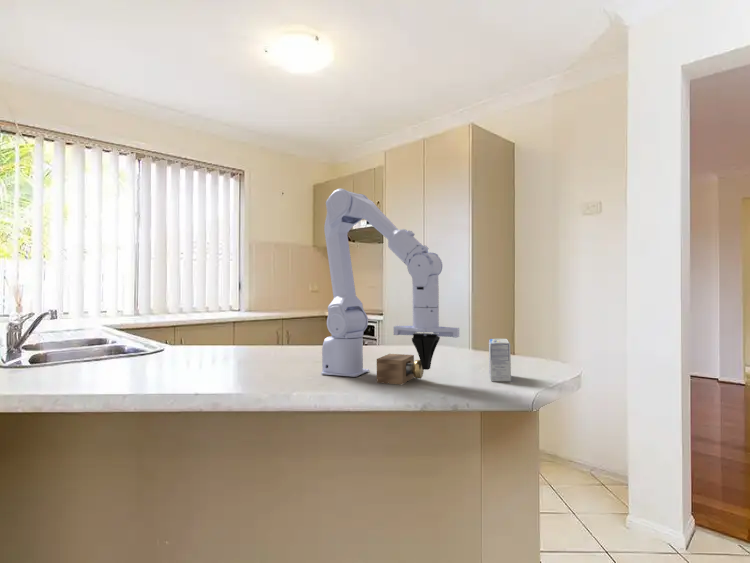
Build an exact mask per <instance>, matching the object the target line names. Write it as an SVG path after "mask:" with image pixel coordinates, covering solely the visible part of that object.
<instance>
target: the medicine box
mask: <svg viewBox="0 0 750 563" xmlns="http://www.w3.org/2000/svg"><path fill="white" fill-rule="evenodd" d="M488 352H489V353H488V356H489V357H488V360H489V378H490V381H491V382H498V383H501V382H502V383H511V382H512V367H511V366H512V365H511V364H512V363H511V359H512V358H511V343H510V341H509V340H508V339H507V338H490V339H489V340H488Z"/></svg>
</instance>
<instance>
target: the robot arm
mask: <svg viewBox="0 0 750 563" xmlns="http://www.w3.org/2000/svg"><path fill="white" fill-rule="evenodd" d="M325 206H326V207H325V208H326V216H325V222H324V227H323V228H324V229H323V230H324V235H325V236H324V237H325V245H326V252H327V259H328V265H329V266H328V268H329V274H330V280H331V287H332V288H331V289H332V295H333V299H332V300H331V302H330V303H329V304H328V306H327V312H328V313H327V318H326V327H327V330H328V332H329V333H330V336H327V337H326V338H324V340H323V343H322V347H321V348H322V349H321V351H322V352H321V353H322V356H321V358H322V359H321V360H322V366H321V367H322V371H321V372H320V374H321V375H330V376H341V377H354V378H356V377H359V376H361V375H363V374H366V373H369V372H370V369H369V368H364V361H363V360H364V357H363V356H364V353H363V352H364V351H363V350H364V348H363V347H364V345H363V340H364V339H363V336H364V332H365V331H366V329H367V328H368V324H369V318H368V315H367V313H366V311H365V310H364V304H363V302H362V301H361V299H360V298H358V296H357V294H356V288H355V287H356V286H355V279H354V274H353V273H354V272H353V271H354V270H353V265H352V259H351V258H352V257H351V251H350V244H349V237H348V233H349V232H350V230H351V229H352V228H353V227H354V226H356V225H357V224H358V223H360V222H361V221H362V220H365V221H366V222H367V223H368V224H370V225H371V226H372V227H373V228H374V229H375V230H377V232H379V233H380V234H381V235H382V236H384V237H385V238H386V239H387V242H388V243H387V246H388V249H389V250H390V251H391V252H392V253H393V254H395V256H396V257H397V258H399V260H400V261H402V262H403V263H404V265H405V266H407V267H406V269H407V271H408V274H409V276H410V277H411V280H412V281H411V282H412V325H394V326H393V336H399V335H400V336H412V338H411V343H412V344H413V346H414V347H415V350H416V352H417V355H418V358H419V360H420V361H421V366H422V369H424V371H428V370H430V369H431V364H432V360H433V356H434V353H435V350H436V347H437V345H438V343H440V342H439V341H440V339H441V337H443V338H444V337H445V338H448V337H449V338H459V337H460V327H451V326H440V312H439V308H440V304H439V303H440V302H439V299H440V297H439V296H440V295H439V293H440V292H439V276H440V274H441V272H442V271H443V262H442V259H441V258H440V257H439V254H437V253H436V252H429V246H427V245H423V244H422V243H421V242H420V241H419V240H417V238H415V232H413V230H407V229H405V228H402V229H399V228H397V226H396V225H395V224H394V223H393V222H392V221H391V220H390V219H389V218H388V217H387V216H386V215H385V214H384V212H382V210H380V208H379V207H378V206H377V205H376V204H375V202H374V201H372V200H371V199H369V197H367V195H365V194H362V193H356V192H353V191H349V190H347V189H345V188H337V189H335V190H333V192H332V193H331V194H330V195H329V196H328V198H327V199H326V201H325Z"/></svg>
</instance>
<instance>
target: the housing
mask: <svg viewBox="0 0 750 563" xmlns="http://www.w3.org/2000/svg"><path fill="white" fill-rule="evenodd" d="M414 362H415V354H405V353H404V354H399V353H388V354H385V355H384V356H381V357H378V358H376V383H377V384H388V383H389V385H399V386H400V385H402V386H403V385H404V384H406V383H408V382H410V381H411V380H413V379H415V378H414V375H413V374H406V363H414ZM407 381H408V382H407Z"/></svg>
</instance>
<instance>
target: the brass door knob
mask: <svg viewBox="0 0 750 563" xmlns="http://www.w3.org/2000/svg"><path fill="white" fill-rule="evenodd" d="M424 371H425V370H424V369H422V366H421V361H420V359H414V363H406V374H413V375H414V378H413V379H420V380H421V379H422V378H423V376H424Z"/></svg>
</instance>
